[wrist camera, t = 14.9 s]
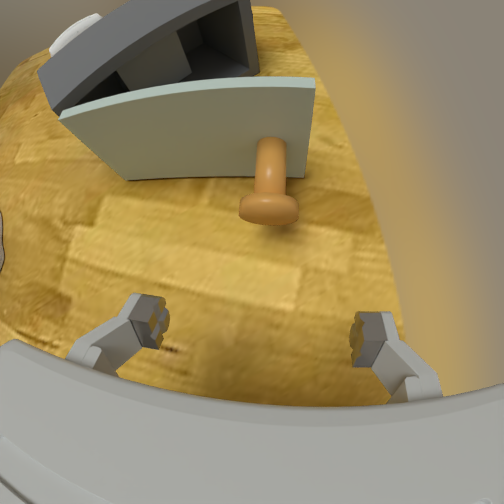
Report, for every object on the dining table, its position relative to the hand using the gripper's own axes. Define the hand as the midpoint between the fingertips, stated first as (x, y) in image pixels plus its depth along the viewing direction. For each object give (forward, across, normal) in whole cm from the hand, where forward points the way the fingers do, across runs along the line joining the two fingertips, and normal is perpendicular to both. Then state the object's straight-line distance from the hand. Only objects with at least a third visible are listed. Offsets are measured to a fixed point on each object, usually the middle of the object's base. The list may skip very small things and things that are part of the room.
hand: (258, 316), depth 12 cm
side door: (+18, -7, -3) cm, 19 cm away
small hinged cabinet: (+29, -14, +8) cm, 34 cm away
